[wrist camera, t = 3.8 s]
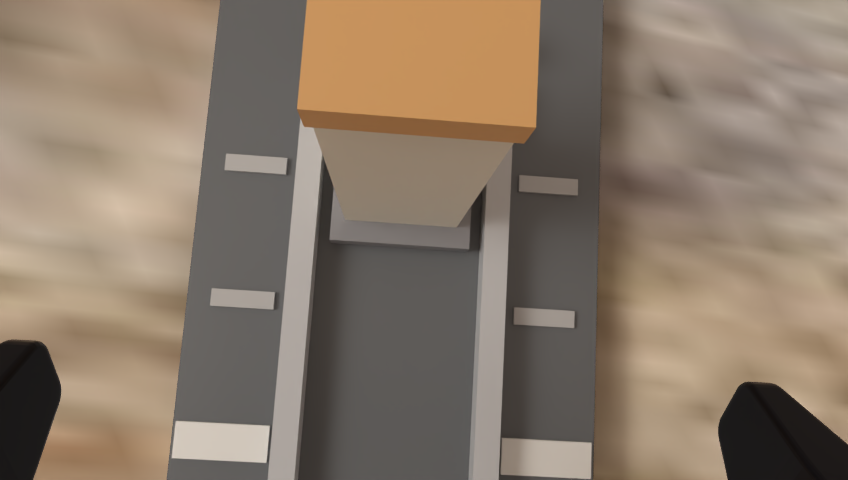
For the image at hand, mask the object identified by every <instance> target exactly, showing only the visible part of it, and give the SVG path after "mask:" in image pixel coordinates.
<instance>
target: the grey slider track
mask: <svg viewBox="0 0 848 480" xmlns="http://www.w3.org/2000/svg"><path fill="white" fill-rule="evenodd" d="M306 5H307V0H220V9H219V17H218V26H217V35H216V44H215V53H214V62H213V71H212V80H211V89H210V98H209V107H208V116H207V125H206V133H205V142H204V151H203V160H202V169H201V178H200V187H199V196H198V205H197V214H196V223H195V232H194V241H193V250H192V258H191V267H190V276H189V285H188V294H187V303H186V312H185V321H184V330H183V339H182V348H181V357H180V366H179V375H178V383H177V392H176V401H175V410H174V419H173V428H172V437H171V446H170V455H169V464H168V473H167V480H593V456H594V410H595V363H596V317H597V270H598V224H599V177H600V131H601V84H602V38H603V0H541V5H540V32H539V60H538V87H537V115H536V128H535V130H534V131H533V132H532V134H531V135H530V137H529V138H528V139H527V141H526V142H525V143H524V144H522V143H514V144H513V145H512V147H511V148H510V150H509V151H508V153H507V154H506V155H505V157H504V158H503V160H502V161H501V163H500V164H499V166H498V167H497V169H496V170H495V172H494V173H493V175H492V176H491V178H490V179H489V180H488V182H487V183H486V185H485V186H484V188H483V189H482V191H481V192H480V194H479V195H478V197H477V198H476V200H475V201H474V203H473V204H472V205H471V223H470V243H469V250H468V251H467V252H458V251H443V250H428V249H413V248H399V247H384V246H369V245H354V244H339V243H331V241H330V240H329V239H330V227H331V214H332V202H333V190H334V186H333V183H332V180H331V177H330V175H329V172H328V169H327V166H326V163H325V160H324V157H323V154H322V151H321V148H320V146H319V143H318V140H317V137H316V134H315V131H314V128H312V127H304V126H303V123H302V121H301V118H300V116H299V113H298V111H297V103H298V92H299V82H300V71H301V60H302V49H303V38H304V27H305V16H306Z"/></svg>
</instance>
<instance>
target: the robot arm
mask: <svg viewBox="0 0 848 480" xmlns="http://www.w3.org/2000/svg"><path fill="white" fill-rule="evenodd" d="M60 397H61V384H60V381H59V378H58V375H57V373H56V370H55V367H54V365H53V362H52V360H51V357H50V354H49V352H48V349H47V347H46V346H45V345H44V344H43V343H42V342H40V341H32V340H7V341H5V342H2V343H1V344H0V480H33V478H34V475H35V472H36V470H37V467H38V464H39V461H40V458H41V455H42V452H43V449H44V446H45V443H46V440H47V437H48V434H49V431H50V429H51V426H52V423H53V420H54V417H55V414H56V411H57V408H58V405H59V402H60ZM718 435H719V441H720V446H721V450H722V455H723V459H724V464H725V469H726V473H727V478H728V480H848V444H847V443H845V442H844V441H843V440H842V439H841V438H840V437H838V436H837V435H836V434H835V433H834V432H832V431H831V430H830V429H829V428H828V427H827V426H825V425H824V424H823V423H822V422H821V421H820V420H818V419H817V418H816V417H815V416H814V415H812V414H811V413H810V412H809V411H808V410H807V409H805V408H804V407H803V406H802V405H801V404H800V403H798V402H797V401H796V400H795V399H794V398H792V397H791V396H790V395H789V394H788V393H787V392H785V391H784V390H783V389H782V388H780V387H779V386H777V385H775V384H772V383H762V382H744V383H743V384H741V385H740V386H739V387H738V388H737V390H736V392H735V394H734V395H733V397H732V399H731V401H730V403H729V404H728V406H727V408H726V410H725V411H724V413H723V415H722V417H721V419H720V422H719V427H718Z"/></svg>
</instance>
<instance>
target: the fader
mask: <svg viewBox="0 0 848 480" xmlns="http://www.w3.org/2000/svg"><path fill="white" fill-rule="evenodd" d="M540 5H541V0H307V5H306V16H305V27H304V38H303V49H302V60H301V71H300V82H299V92H298V103H297V111H298V113H299V116H300V118H301V121H302V123H303V126H304V127H312V128H314V131H315V134H316V137H317V140H318V143H319V146H320V148H321V151H322V154H323V157H324V160H325V163H326V166H327V169H328V172H329V175H330V177H331V180H332V183H333V186H334V190H333V202H332V214H331V227H330V239H329V240H330V241H331V243H339V244H354V245H369V246H384V247H399V248H413V249H428V250H443V251H458V252H467V251H468V250H469V243H470V223H471V205H472V204H473V203H474V201H475V200H476V198H477V197H478V195H479V194H480V192H481V191H482V189H483V188H484V186H485V185H486V183H487V182H488V180H489V179H490V178H491V176H492V175H493V173H494V172H495V170H496V169H497V167H498V166H499V164H500V163H501V161H502V160H503V158H504V157H505V155H506V154H507V153H508V151H509V150H510V148H511V147H512V145H513V144H514V143H522V144H524V143H525V142H526V141H527V139H528V138H529V137H530V135H531V134H532V132H533V131H534V130H535V128H536V115H537V87H538V60H539V32H540Z"/></svg>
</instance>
